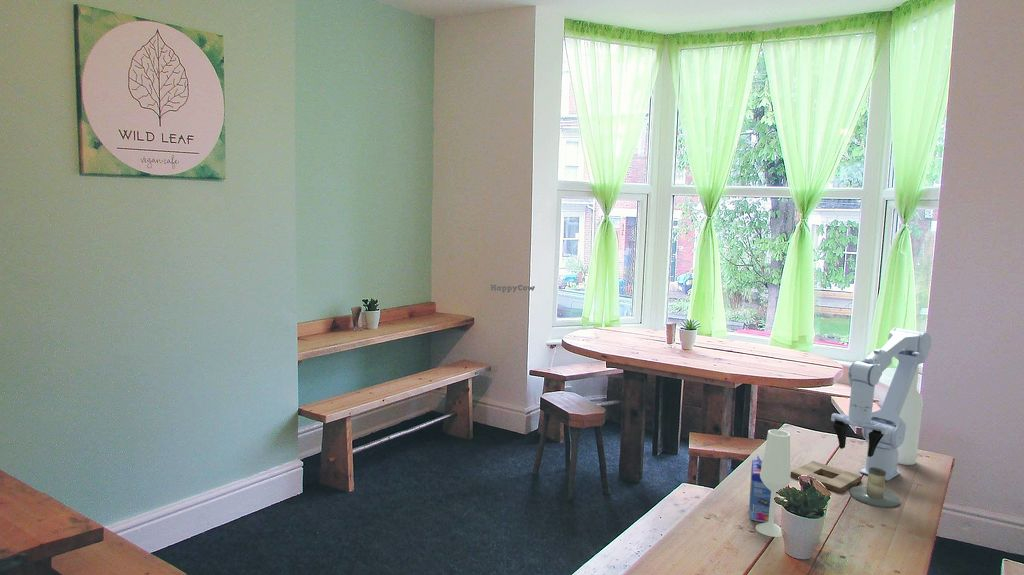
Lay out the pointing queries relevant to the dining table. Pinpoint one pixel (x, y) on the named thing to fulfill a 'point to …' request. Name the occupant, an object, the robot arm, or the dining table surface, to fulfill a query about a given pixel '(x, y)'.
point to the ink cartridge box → (758, 494)
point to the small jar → (876, 482)
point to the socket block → (837, 483)
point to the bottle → (911, 424)
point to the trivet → (886, 501)
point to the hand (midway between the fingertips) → (856, 451)
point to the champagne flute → (775, 474)
